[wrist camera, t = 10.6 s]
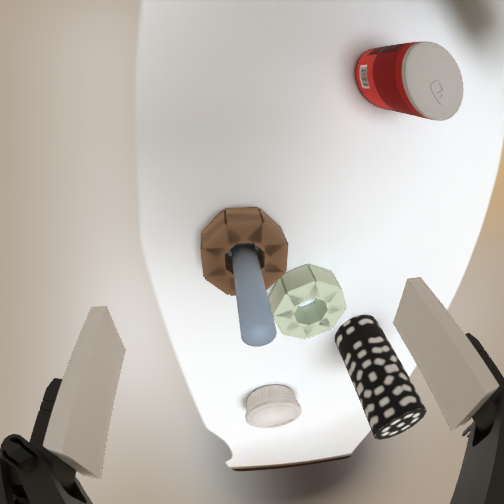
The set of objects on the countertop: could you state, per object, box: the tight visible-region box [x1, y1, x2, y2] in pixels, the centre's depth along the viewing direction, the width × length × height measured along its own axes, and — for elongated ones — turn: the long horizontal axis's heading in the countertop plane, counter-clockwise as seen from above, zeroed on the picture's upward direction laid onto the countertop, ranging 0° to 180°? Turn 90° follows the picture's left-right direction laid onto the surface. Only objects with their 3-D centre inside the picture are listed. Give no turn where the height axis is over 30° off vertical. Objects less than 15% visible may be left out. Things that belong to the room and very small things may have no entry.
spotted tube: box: [335, 315, 426, 439], centre depth 42 cm, size 8×8×20 cm
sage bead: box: [268, 264, 346, 339], centre depth 42 cm, size 10×10×4 cm
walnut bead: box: [201, 207, 288, 296], centre depth 37 cm, size 10×10×4 cm
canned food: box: [356, 42, 463, 121], centre depth 25 cm, size 8×8×11 cm
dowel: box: [231, 243, 276, 346], centre depth 32 cm, size 3×3×16 cm
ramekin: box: [245, 385, 301, 428], centre depth 55 cm, size 11×11×5 cm
